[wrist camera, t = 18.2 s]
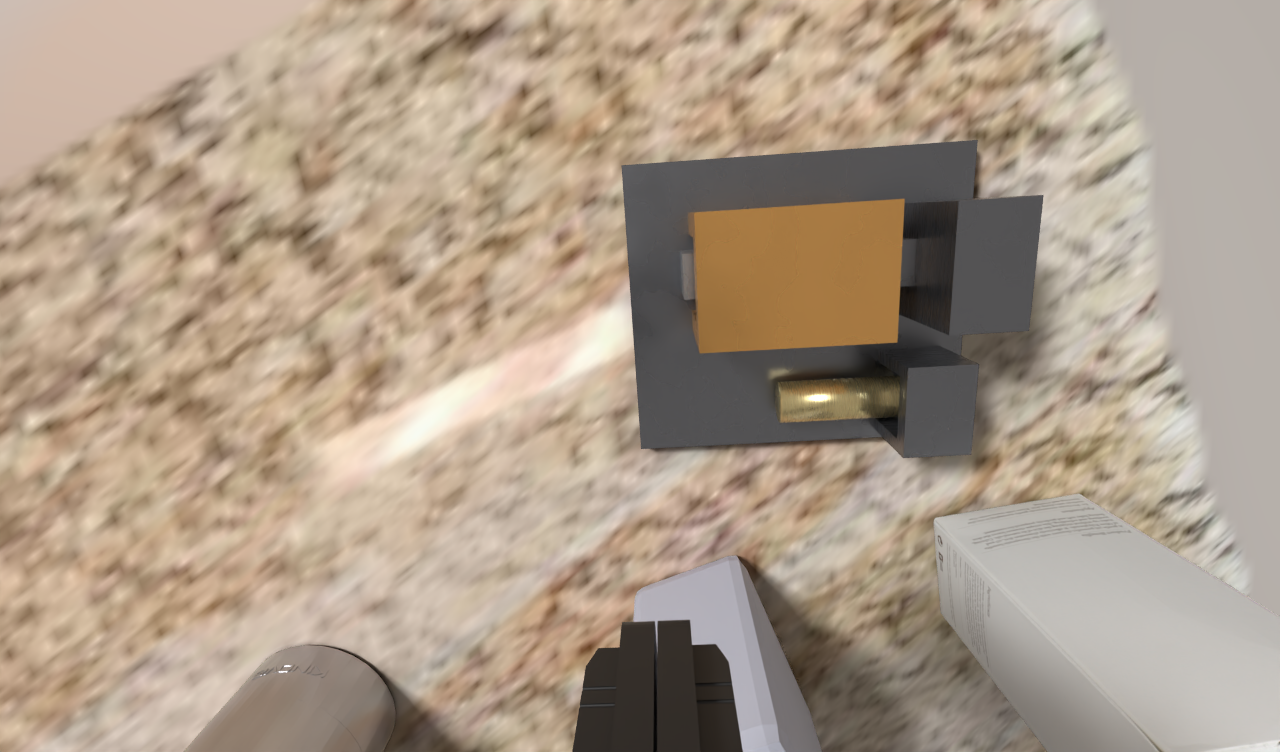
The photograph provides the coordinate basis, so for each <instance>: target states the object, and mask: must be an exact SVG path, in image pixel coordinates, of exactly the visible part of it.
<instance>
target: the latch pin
mask: <svg viewBox="0 0 1280 752" xmlns="http://www.w3.org/2000/svg"><path fill="white" fill-rule="evenodd" d="M899 392H900V376H899V375H896V376H878V377H860V378H841V379H823V380H804V381H786V382H777V383H776V386H775V408H776V415H777V419H778V421H779V423H788V422H808V421H827V420H847V419H866V418H886V417H898V411H899Z"/></svg>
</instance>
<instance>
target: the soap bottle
mask: <svg viewBox="0 0 1280 752" xmlns="http://www.w3.org/2000/svg"><path fill="white" fill-rule="evenodd" d="M665 620H690V625H691V637H692V645H703V644H716V645H717V646H718V647H719V649H720V650H721V652H722V653H723V654H724V656H725V657H726V658H727V660H728V661H729V667H730V673H731V679H732V686H733V692H734V698H735V705H736V711H737V717H738V724H739V730H740V736H741V743H742V749H743V752H822V750H821V747H820V743H819V740H818V737H817V733H816V730H815V727H814V724H813V720H812V717H811V714H810V711H809V709H808V707H807V704H806V702H805V700H804V697H803V695H802V693H801V691H800V688H799V686H798V684H797V682H796V679H795V677H794V675H793V673H792V670H791V668H790V666H789V664H788V661H787V659H786V657H785V655H784V652H783V650H782V648H781V646H780V643H779V641H778V639H777V637H776V634H775V632H774V630H773V628H772V625H771V623H770V621H769V618H768V616H767V614H766V612H765V609H764V607H763V605H762V603H761V600H760V598H759V596H758V594H757V591H756V589H755V587H754V585H753V582H752V580H751V578H750V576H749V573H748V571H747V569H746V568H745V566H744V565H743V564H742V563H741V561H740V560H739V559H738V557H737V556H727V557H725V558H722V559H719V560H716V561H714V562H711V563H708V564H705V565H703V566H700V567H697V568H694V569H692V570H689V571H686V572H683V573H681V574H678V575H675V576H672V577H670V578H667V579H664V580H661V581H659V582H656V583H653V584H650V585H648V586H645V587H643V588H642V589H640V590H639V591H638V592H637V594H636V596H635V606H634V622H642V621H655V626H656V640H657V622H658V621H665Z"/></svg>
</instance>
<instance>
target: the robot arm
mask: <svg viewBox="0 0 1280 752" xmlns="http://www.w3.org/2000/svg"><path fill="white" fill-rule="evenodd" d="M395 715H396V711H395V706H394V701H393V698H392V696H391V694H390V692H389V689H388V687H387V686H386V684H385V683H384V682H383V680H382V679H381V678H380V676H379V675H378V674H377V673H376V672H375V671H374V670H373V669H371V668H370V667H369V666H368V665H367V664H366V663H364V662H362V661H361V660H359V659H358V658H356V657H354V656H353V655H350V654H348V653H345V652H343V651H341V650H338V649H334V648H329V647H325V646H315V645H303V646H296V647H290V648H287V649H284V650H282V651H279V652H277V653H275V654H274V655H272V656H270V657H269V658H267V659H266V660H265V661H264V662H263V663H262V664H261V665H260V666H259V667H258V668H257V669H256V671H255V672H254V673H253V674H252V675H251V676H250V677H249V678H248V680H247V681H246V682H245V683H244V684H243V685H242V686H241V687H240V689H239V690H238V691H237V692H236V693H235V694H234V695H233V697H232V698H231V699H230V700H229V701H228V702H227V703H226V704H225V706H224V707H223V708H222V709H221V710H220V711H219V712H218V713H217V714H216V715H215V716H214V718H213V719H212V720H211V721H210V722H209V723H208V724H207V726H206V727H205V728H204V729H203V730H202V731H201V732H200V733H199V735H198V736H197V737H196V738H195V739H194V740H193V741H192V743H191V744H190V745H189V746H188V747H187V748H186V749H185V751H184V752H383V751H384V749H385V747H386V745H387V743H388V741H389V739H390V737H391V735H392V732H393V729H394V726H395ZM573 752H743V749H742V743H741V736H740V730H739V724H738V717H737V711H736V705H735V698H734V692H733V686H732V679H731V673H730V667H729V661H728V660H727V658H726V657H725V656H724V654H723V653H722V652H721V650H720V649H719V647H718V646H717V645H716V644H703V645H692V637H691V625H690V620H665V621H658V622H657V640H656V626H655V621H642V622H622V627H621V638H620V648H598V650H597V651H596V653H595V654H594V656H593V657H592V658H591V660H590V661H589V663H588V664H587V666H586V670H585V676H584V682H583V691H582V695H581V701H580V708H579V714H578V720H577V726H576V733H575V739H574V745H573Z"/></svg>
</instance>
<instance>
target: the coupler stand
mask: <svg viewBox="0 0 1280 752" xmlns="http://www.w3.org/2000/svg"><path fill="white" fill-rule="evenodd" d="M977 141H978V140H972V141H958V142H944V143H930V144H916V145H902V146H888V147H874V148H860V149H846V150H832V151H818V152H804V153H790V154H776V155H762V156H748V157H734V158H720V159H706V160H692V161H678V162H664V163H650V164H636V165H622V177H623V192H624V206H625V221H626V235H627V250H628V264H629V278H630V293H631V307H632V322H633V336H634V351H635V365H636V379H637V394H638V408H639V423H640V437H641V449H650V448H670V447H690V446H710V445H730V444H750V443H770V442H790V441H810V440H830V439H850V438H870V437H883V438H884V439H885V440H886V441H887V442H888V443H889V444H890V445H891V446H892V447H893V448H894V449H895V450H896V451H897V452H898V453H899V454H900V455H901V456H902V457H903V458H911V457H932V456H953V455H971V450H972V439H973V427H974V416H975V404H976V393H977V381H978V369H979V364H977V363H975V362H973V361H971V360H969V359H967V358H965V357H962V356H961V346H962V335H966V334H983V333H1001V332H1018V331H1029V325H1030V316H1031V307H1032V297H1033V288H1034V279H1035V270H1036V260H1037V251H1038V242H1039V232H1040V223H1041V214H1042V204H1043V195H1036V196H1014V197H993V198H973V192H974V179H975V166H976V154H977ZM892 199H905V202H904V222H903V242H902V261H901V281H900V301H899V321H898V340H897V343H880V344H862V345H844V346H826V347H808V348H790V349H772V350H753V351H735V352H717V353H699V350H698V346H697V343H696V340H695V336H694V333H693V324H692V310H696V299H695V274H694V249H693V237H692V236H690V235H689V226H688V213H691V212H706V211H721V210H737V209H752V208H767V207H782V206H797V205H812V204H828V203H843V202H858V201H875V200H892ZM896 375H899V376H900V392H899V411H898V417H886V418H866V419H847V420H827V421H808V422H788V423H779V421H778V419H777V415H776V408H775V386H776V383H777V382H786V381H804V380H823V379H841V378H860V377H878V376H896Z"/></svg>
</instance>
